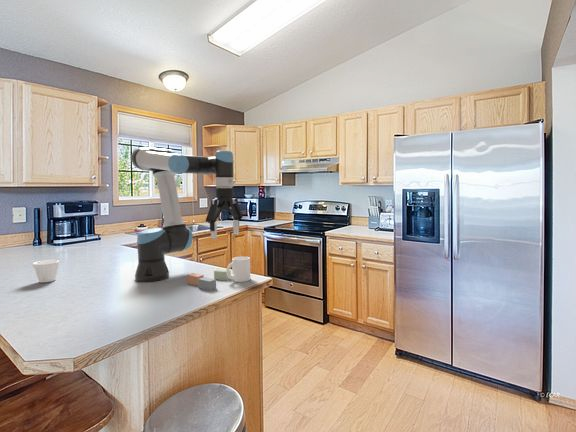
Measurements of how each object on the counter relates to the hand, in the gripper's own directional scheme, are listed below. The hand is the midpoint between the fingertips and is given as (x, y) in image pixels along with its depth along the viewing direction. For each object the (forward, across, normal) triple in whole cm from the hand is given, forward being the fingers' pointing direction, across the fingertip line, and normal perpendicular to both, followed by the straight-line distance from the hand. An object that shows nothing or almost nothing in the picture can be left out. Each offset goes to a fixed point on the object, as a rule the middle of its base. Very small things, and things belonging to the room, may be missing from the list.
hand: (225, 236), depth 139 cm
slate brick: (+22, -7, +4) cm, 24 cm away
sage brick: (+22, +7, +9) cm, 25 cm away
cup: (+23, -39, +77) cm, 89 cm away
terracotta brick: (+22, -5, +14) cm, 27 cm away
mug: (+22, +8, 0) cm, 23 cm away
